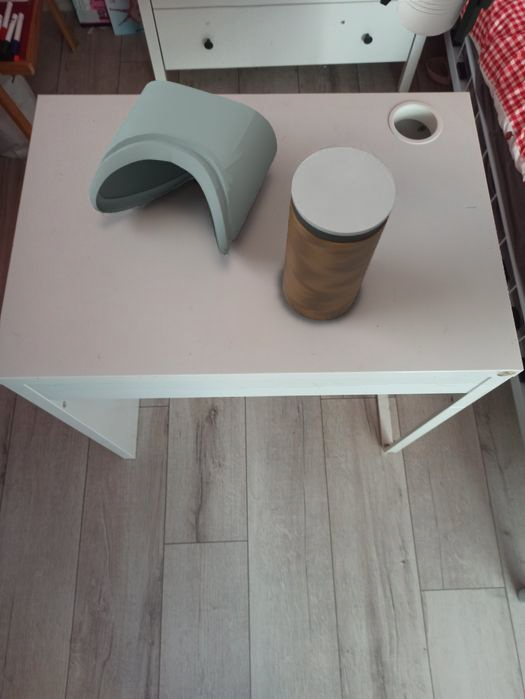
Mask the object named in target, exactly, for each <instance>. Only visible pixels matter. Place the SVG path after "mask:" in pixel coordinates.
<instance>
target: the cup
mask: <svg viewBox="0 0 525 699" xmlns="http://www.w3.org/2000/svg"><path fill="white" fill-rule="evenodd" d="M468 2H469V0H397V6H396V15H397V18H398V21H399V22H400V23H401V25H402V26H403V27H404V28H405V29H406V30H408V31H409V32H410V33H412V34H414V35H418V36H422V37H434V36H439V35H441V34H443V33H446V32H448V31H450V30H451V29H452V28H453V27H454V25H455V24H456V22H457V21H458V19H459V17H460V16H461V13H462V12H463V10H464V9H465V8H466V6H467V3H468Z"/></svg>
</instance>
